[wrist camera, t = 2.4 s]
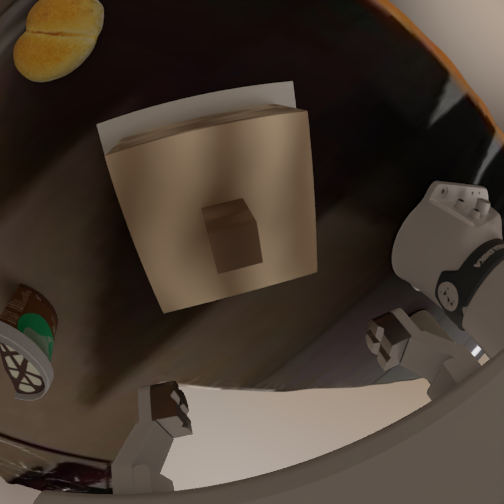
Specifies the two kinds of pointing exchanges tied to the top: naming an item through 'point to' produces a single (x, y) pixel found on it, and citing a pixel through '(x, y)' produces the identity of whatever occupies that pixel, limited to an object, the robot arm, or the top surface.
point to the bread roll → (57, 38)
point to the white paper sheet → (194, 110)
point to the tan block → (219, 202)
